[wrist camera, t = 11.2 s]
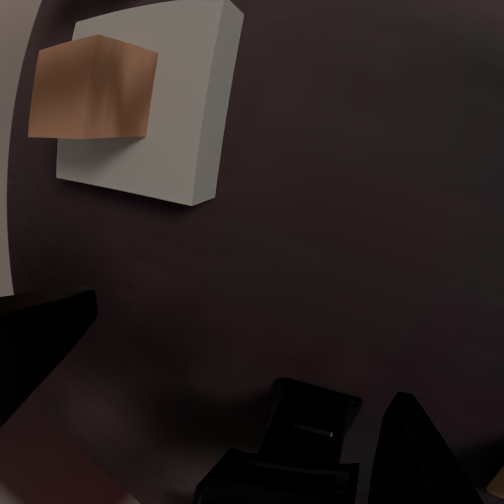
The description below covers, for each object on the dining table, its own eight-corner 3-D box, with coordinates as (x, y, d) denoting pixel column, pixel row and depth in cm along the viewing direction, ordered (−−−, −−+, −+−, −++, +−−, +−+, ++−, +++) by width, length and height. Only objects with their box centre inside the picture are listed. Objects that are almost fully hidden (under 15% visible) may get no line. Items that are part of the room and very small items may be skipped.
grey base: (214, 197, 20) (191, 206, 17) (83, 172, 23) (56, 177, 20) (244, 14, 15) (225, -4, 13) (102, 29, 18) (76, 22, 16)
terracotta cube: (146, 136, 17) (82, 139, 12) (88, 132, 18) (28, 137, 13) (158, 53, 15) (98, 34, 10) (98, 59, 16) (39, 50, 12)
